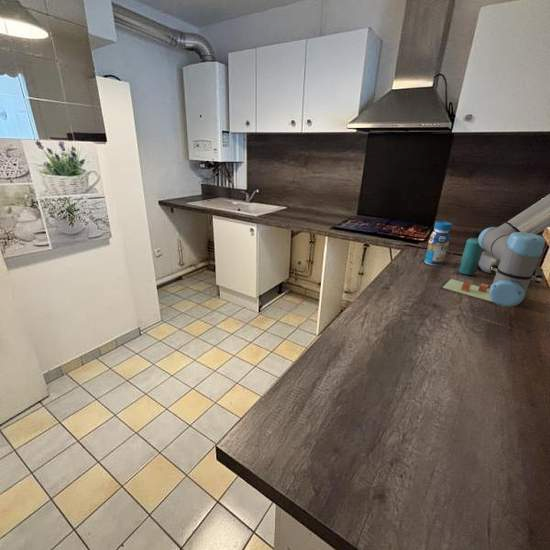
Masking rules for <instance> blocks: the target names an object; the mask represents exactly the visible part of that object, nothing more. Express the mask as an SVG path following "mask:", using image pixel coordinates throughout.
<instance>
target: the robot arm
mask: <svg viewBox="0 0 550 550" xmlns="http://www.w3.org/2000/svg"><path fill="white" fill-rule="evenodd" d="M549 227H550V193H549V194H547V195H546V196H544V197H543V198H540V200H538V201H536V202H535V203H533V204H531V205H530V206H529V207H527V208H526V209H524V210H522V211H521V212H520V213H518V214H517V215H515V216H513V217H512V218H510V219H509V220H507V221H505V222H504V223H503V224H501V225H499V226H490V227H487V228H485V229H483V230H481V231H482V232H481V234H480V235H479V237H477V238H478V242H479V245H480V246H481V247H482V250H483V251H484V252H488V253H490V254H492V255H493V256H495V257H496V258H497V259H499V260H500V261H499V262H498V263H497V264H494V265H492V267H491V270H490V272H491V273H490V274H494V273H495V272H496V274H495V276H494V278H493V282H492V284H490V285H489V286H490V287H489V289H490V290H489V296H490V298H491V300H492V301H493V302H492V301H491V302H492V303H494V304H495V305H497V306H500V307H504V308H511V307H515V306H517V305H519V304H520V303H521V302H523V300H525V296H526V294H527V293H526V292H527V290H528V287H529V285H530V282H531V281H532V282H534V283H535V284H541V283H542V281H543V278H544V275H543V274H542V273H541V269H540V267H539V266H537V265H538V263H539V260H540V259H541V256H542V255H543V252H544V247H545V244H546V239H545V237H543V236H542V235H540V234H539V233H541V232H543V231H545V230H547V229H548V228H549Z"/></svg>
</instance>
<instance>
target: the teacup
mask: <svg viewBox="0 0 550 550" xmlns="http://www.w3.org/2000/svg"><path fill="white" fill-rule="evenodd" d="M499 261H500V260H499V259H497V258H496V257H495V256H493V255H492V254H490V253H488V252H486V251H481V255H480V259H479V262H478V267H479V268H480V269H481V270H482V271H483V272H486V273H488V274H492V273H491V272H490V270H491V267H492V265H494V264H497V263H498V262H499ZM493 274H495V275H496V272H495V273H493Z"/></svg>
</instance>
